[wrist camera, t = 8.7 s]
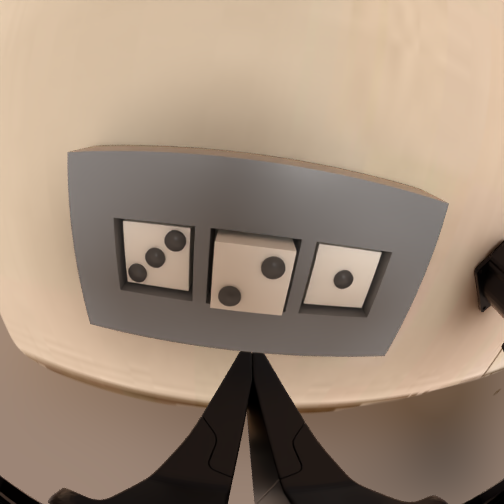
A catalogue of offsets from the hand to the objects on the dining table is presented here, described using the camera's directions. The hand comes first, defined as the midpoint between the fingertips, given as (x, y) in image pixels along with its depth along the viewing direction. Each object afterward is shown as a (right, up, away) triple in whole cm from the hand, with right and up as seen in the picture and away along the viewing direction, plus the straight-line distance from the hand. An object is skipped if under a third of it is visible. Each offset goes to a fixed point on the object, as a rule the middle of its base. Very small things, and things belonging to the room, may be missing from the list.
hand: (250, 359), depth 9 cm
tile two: (0, +3, +6) cm, 7 cm away
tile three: (-5, +4, +7) cm, 10 cm away
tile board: (0, +4, +9) cm, 10 cm away
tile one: (+5, +3, +8) cm, 10 cm away
